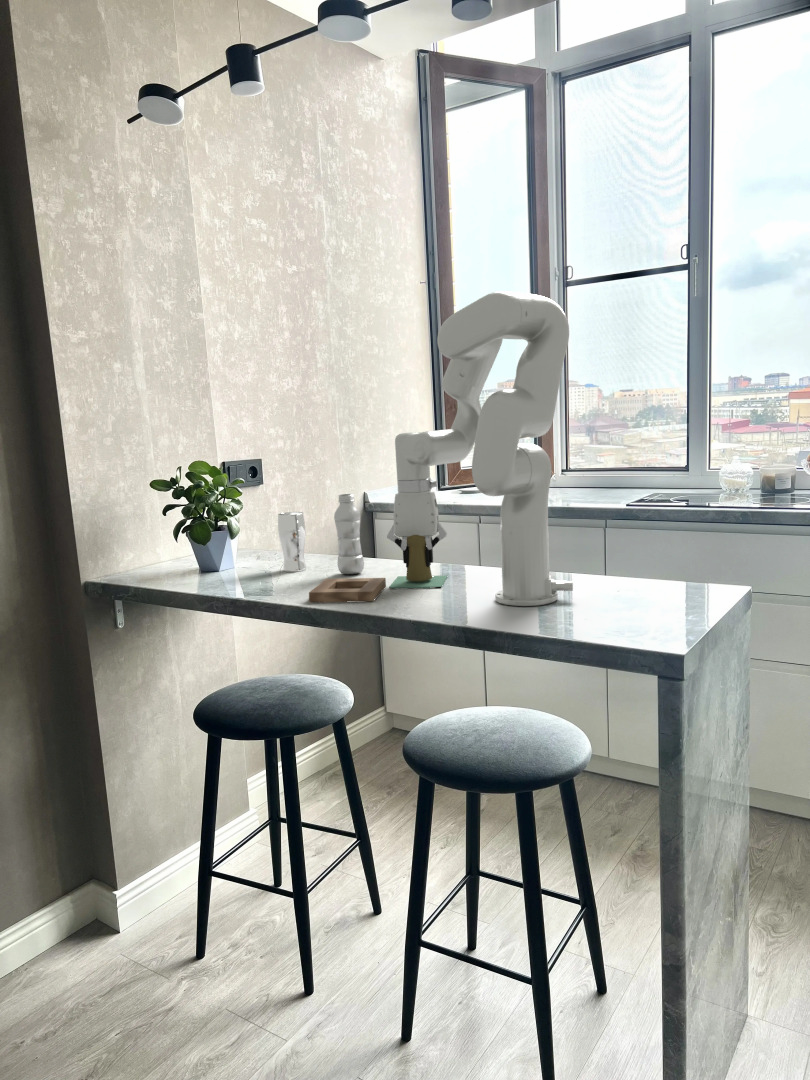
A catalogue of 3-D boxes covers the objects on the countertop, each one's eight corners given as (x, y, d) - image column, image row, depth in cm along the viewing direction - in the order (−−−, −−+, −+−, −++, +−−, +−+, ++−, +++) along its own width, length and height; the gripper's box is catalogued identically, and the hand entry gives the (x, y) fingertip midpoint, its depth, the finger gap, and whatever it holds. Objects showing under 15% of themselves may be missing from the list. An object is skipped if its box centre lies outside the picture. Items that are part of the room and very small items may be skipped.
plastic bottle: (361, 576, 194) (356, 495, 191) (335, 576, 195) (329, 496, 192) (367, 571, 200) (362, 492, 197) (341, 571, 201) (336, 493, 198)
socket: (386, 587, 180) (385, 577, 180) (373, 601, 166) (372, 591, 166) (326, 588, 182) (326, 578, 182) (309, 602, 169) (308, 592, 168)
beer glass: (279, 573, 204) (274, 515, 202) (284, 567, 211) (279, 512, 209) (305, 571, 204) (301, 514, 201) (310, 566, 211) (305, 511, 208)
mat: (447, 577, 187) (447, 575, 187) (441, 588, 176) (441, 586, 176) (398, 577, 189) (397, 576, 189) (388, 589, 178) (388, 587, 178)
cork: (433, 575, 185) (430, 529, 183) (431, 580, 179) (428, 532, 177) (407, 576, 186) (404, 530, 184) (404, 581, 180) (402, 533, 178)
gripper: (452, 484, 181) (456, 562, 184) (381, 487, 184) (386, 564, 187) (448, 487, 174) (452, 568, 177) (374, 490, 177) (379, 570, 180)
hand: (418, 565), depth 182 cm, fingers closed on cork, 4 cm apart
